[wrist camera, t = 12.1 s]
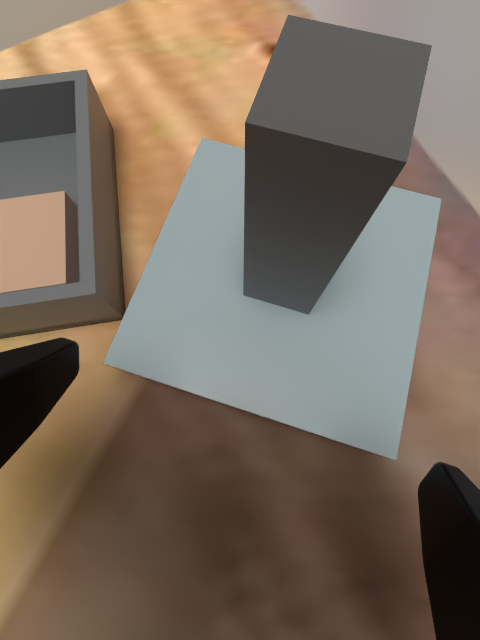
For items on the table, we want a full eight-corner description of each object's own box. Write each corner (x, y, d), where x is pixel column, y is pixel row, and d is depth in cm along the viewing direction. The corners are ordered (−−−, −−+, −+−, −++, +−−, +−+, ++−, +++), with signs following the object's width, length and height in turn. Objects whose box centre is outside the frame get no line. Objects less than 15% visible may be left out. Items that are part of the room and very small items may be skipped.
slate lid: (378, 455, 15) (716, 547, 4) (118, 369, 16) (-122, 273, 5) (422, 220, 18) (670, -53, 8) (205, 163, 19) (161, -142, 9)
